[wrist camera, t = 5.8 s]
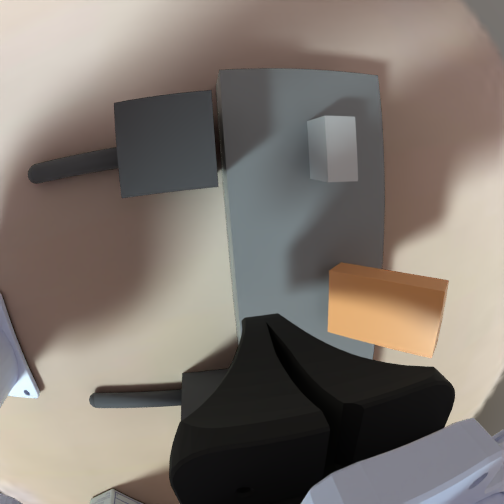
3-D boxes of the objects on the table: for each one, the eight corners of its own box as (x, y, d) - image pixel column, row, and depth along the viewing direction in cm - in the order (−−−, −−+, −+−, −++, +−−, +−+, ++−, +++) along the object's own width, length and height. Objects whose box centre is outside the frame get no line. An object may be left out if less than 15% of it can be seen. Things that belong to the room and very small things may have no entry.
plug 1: (37, 202, 14) (-29, 226, 8) (31, 147, 13) (-38, 147, 8) (212, 177, 15) (218, 186, 10) (207, 116, 15) (211, 90, 9)
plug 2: (98, 411, 18) (80, 478, 12) (84, 377, 17) (57, 445, 12) (236, 403, 19) (250, 475, 14) (232, 368, 19) (246, 441, 13)
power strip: (246, 417, 20) (258, 474, 15) (215, 86, 14) (222, 54, 9) (344, 398, 21) (372, 446, 16) (349, 86, 15) (401, 66, 10)
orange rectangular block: (327, 331, 14) (431, 358, 11) (329, 270, 13) (444, 291, 10) (338, 320, 15) (436, 343, 12) (340, 262, 14) (448, 280, 11)
